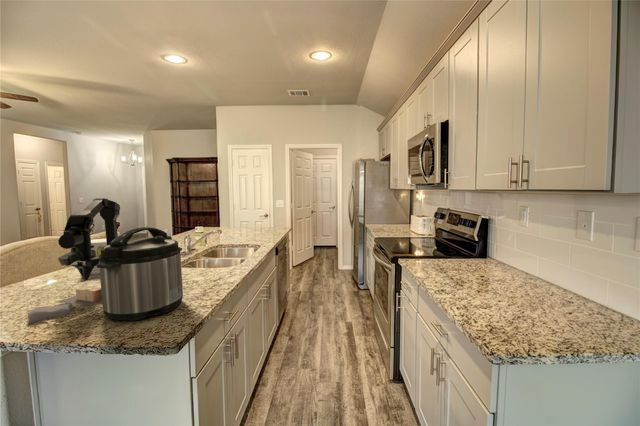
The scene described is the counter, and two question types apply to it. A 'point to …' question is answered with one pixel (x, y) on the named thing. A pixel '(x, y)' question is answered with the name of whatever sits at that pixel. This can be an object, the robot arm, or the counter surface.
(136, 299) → the pressure cooker
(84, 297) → the birch block
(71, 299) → the rubber mat
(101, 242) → the supplement box
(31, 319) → the stone block
